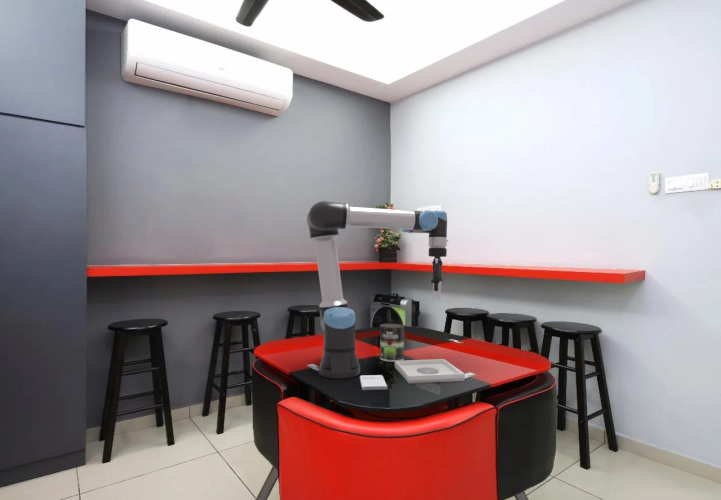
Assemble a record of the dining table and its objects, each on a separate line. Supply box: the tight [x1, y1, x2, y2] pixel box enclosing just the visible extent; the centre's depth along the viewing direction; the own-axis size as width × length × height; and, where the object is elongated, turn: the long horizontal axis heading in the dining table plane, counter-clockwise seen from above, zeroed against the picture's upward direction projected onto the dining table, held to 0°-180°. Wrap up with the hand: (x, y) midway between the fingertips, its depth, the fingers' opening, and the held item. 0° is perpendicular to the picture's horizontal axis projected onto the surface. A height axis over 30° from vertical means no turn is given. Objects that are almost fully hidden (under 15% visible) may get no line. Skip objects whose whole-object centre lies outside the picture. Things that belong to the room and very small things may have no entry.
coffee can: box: [379, 323, 405, 363], centre depth 167 cm, size 10×10×14 cm
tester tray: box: [394, 358, 466, 384], centre depth 145 cm, size 20×20×2 cm
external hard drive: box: [359, 374, 388, 391], centre depth 134 cm, size 2×8×12 cm
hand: (436, 297), depth 167 cm, fingers open, 13 cm apart
